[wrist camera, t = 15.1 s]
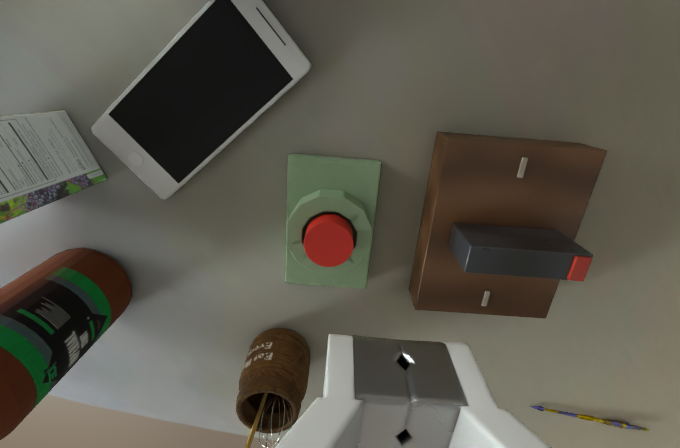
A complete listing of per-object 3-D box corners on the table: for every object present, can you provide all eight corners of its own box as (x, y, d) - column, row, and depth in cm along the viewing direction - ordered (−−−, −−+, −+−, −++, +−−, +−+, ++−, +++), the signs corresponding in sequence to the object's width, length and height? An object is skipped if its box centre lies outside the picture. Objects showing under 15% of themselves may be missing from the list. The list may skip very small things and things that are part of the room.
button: (306, 211, 26) (304, 220, 25) (354, 215, 26) (355, 224, 25) (305, 254, 28) (302, 265, 26) (350, 257, 28) (351, 268, 26)
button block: (289, 153, 27) (284, 162, 25) (380, 160, 27) (384, 169, 25) (287, 276, 31) (281, 295, 29) (365, 281, 32) (367, 301, 29)
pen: (646, 429, 39) (650, 425, 38) (651, 435, 38) (655, 431, 38) (526, 405, 38) (529, 401, 37) (529, 411, 37) (532, 407, 37)
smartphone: (95, 127, 26) (86, 129, 26) (241, -28, 23) (237, -32, 22) (169, 198, 29) (163, 202, 28) (314, 67, 25) (313, 67, 24)
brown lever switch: (436, 131, 27) (448, 138, 24) (580, 143, 27) (609, 151, 24) (408, 289, 32) (415, 311, 29) (528, 297, 32) (547, 319, 29)
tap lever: (447, 246, 27) (465, 274, 23) (452, 221, 26) (472, 247, 22) (550, 253, 27) (585, 283, 23) (558, 229, 26) (596, 256, 22)
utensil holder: (323, 344, 34) (314, 471, 23) (288, 383, 36) (264, 517, 25) (271, 314, 33) (235, 434, 22) (238, 357, 35) (190, 486, 24)
